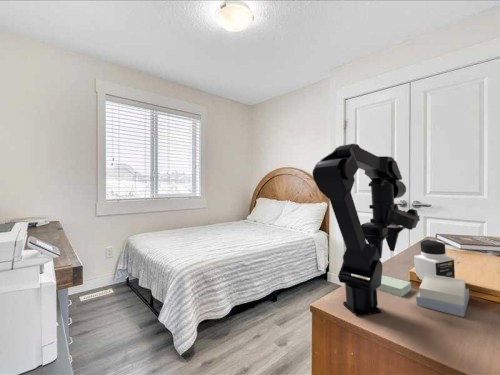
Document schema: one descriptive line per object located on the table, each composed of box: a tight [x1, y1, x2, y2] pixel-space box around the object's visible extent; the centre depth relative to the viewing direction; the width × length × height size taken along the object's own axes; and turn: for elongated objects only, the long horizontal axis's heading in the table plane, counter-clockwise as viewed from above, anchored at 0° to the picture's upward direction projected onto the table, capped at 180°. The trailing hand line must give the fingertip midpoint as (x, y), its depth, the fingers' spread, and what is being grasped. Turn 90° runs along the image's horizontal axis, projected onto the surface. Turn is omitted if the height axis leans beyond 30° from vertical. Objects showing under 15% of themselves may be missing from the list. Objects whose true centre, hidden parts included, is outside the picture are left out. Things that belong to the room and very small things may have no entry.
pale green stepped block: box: [366, 274, 412, 298], centre depth 73 cm, size 10×6×2 cm, turn 35°
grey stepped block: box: [415, 274, 470, 318], centre depth 63 cm, size 12×9×4 cm
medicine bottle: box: [413, 239, 456, 282], centre depth 76 cm, size 7×7×12 cm
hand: (385, 254), depth 73 cm, fingers open, 9 cm apart
